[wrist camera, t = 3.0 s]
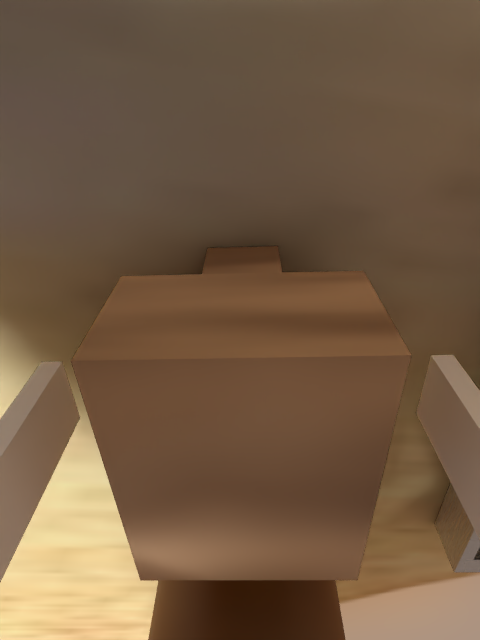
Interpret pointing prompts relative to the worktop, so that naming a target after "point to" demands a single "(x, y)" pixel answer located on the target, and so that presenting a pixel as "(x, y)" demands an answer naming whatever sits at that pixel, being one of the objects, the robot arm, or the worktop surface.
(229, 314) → the tan cardboard box
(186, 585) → the mug
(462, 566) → the rail
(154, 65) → the worktop surface
